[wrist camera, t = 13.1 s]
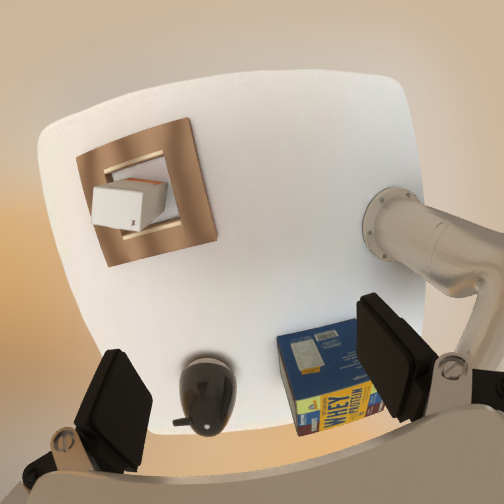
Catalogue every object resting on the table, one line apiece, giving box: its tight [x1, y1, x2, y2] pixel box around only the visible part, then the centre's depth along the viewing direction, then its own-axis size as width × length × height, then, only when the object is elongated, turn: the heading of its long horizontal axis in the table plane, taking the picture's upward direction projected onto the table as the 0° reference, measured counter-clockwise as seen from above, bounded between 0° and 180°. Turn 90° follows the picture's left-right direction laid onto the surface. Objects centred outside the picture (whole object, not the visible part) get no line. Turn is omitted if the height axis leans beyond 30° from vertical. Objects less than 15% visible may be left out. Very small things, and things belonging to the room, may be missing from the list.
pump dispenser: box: [173, 358, 237, 437], centre depth 41 cm, size 10×10×15 cm
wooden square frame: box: [76, 117, 217, 267], centre depth 35 cm, size 17×17×3 cm
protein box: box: [277, 319, 385, 437], centre depth 41 cm, size 10×15×16 cm
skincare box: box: [91, 178, 168, 232], centre depth 31 cm, size 6×4×12 cm
